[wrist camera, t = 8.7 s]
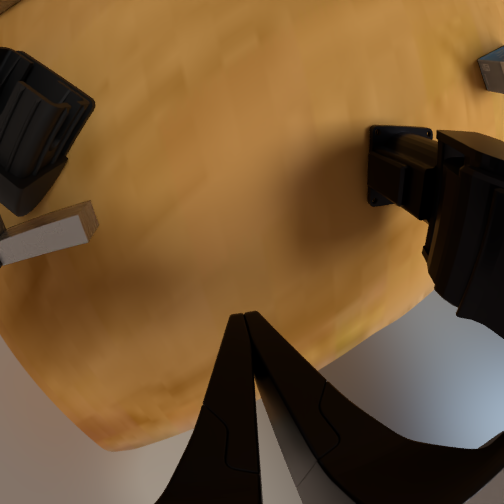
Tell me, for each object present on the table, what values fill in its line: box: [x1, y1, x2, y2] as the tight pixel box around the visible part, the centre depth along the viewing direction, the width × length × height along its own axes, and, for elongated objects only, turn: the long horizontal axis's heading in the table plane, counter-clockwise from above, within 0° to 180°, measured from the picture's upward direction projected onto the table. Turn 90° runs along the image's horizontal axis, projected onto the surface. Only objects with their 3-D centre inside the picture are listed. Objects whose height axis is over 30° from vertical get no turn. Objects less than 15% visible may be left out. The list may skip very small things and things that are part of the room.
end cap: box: [0, 47, 95, 217], centre depth 10 cm, size 10×7×7 cm
